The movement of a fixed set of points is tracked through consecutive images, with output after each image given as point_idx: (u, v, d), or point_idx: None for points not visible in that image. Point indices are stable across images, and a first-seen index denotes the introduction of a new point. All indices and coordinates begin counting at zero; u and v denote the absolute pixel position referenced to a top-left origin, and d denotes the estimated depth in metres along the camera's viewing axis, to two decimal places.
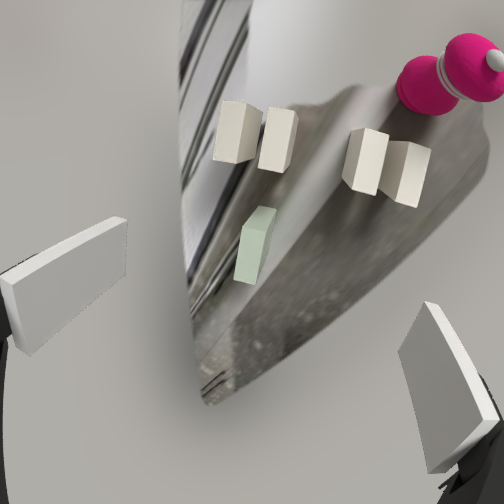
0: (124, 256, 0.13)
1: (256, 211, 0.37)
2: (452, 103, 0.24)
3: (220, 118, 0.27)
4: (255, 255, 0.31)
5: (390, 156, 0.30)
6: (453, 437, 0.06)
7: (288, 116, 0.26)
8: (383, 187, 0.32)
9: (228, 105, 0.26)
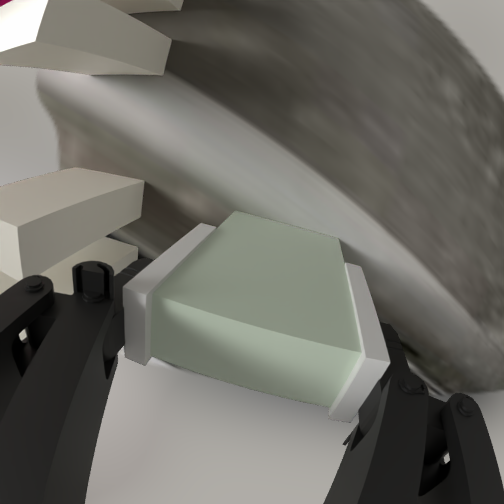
0: None
1: None
2: None
3: None
4: (240, 339, 0.08)
5: None
6: None
7: None
8: None
9: None
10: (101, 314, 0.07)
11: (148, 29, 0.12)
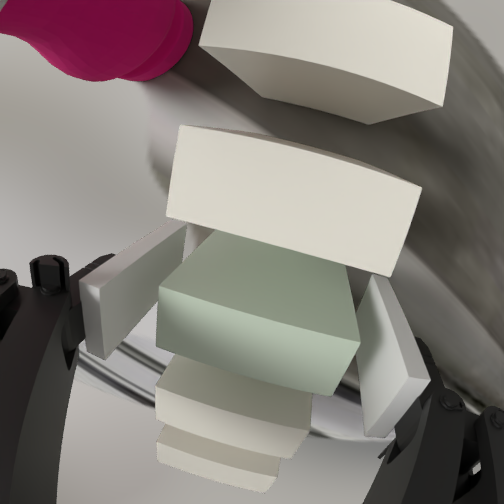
0: (181, 258, 0.14)
1: None
2: None
3: (189, 472, 0.13)
4: (244, 329, 0.09)
5: (290, 92, 0.11)
6: (385, 397, 0.07)
7: (169, 399, 0.10)
8: (376, 115, 0.11)
9: (165, 459, 0.13)
10: (58, 305, 0.06)
11: None
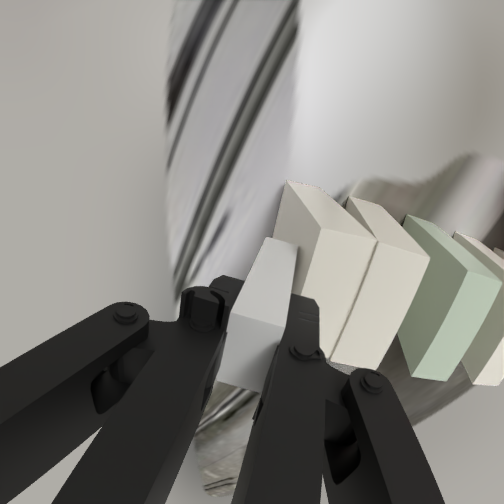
0: None
1: (424, 227, 0.17)
2: None
3: (311, 273, 0.12)
4: (470, 329, 0.11)
5: None
6: None
7: (415, 269, 0.11)
8: None
9: (335, 243, 0.11)
10: (210, 346, 0.07)
11: None
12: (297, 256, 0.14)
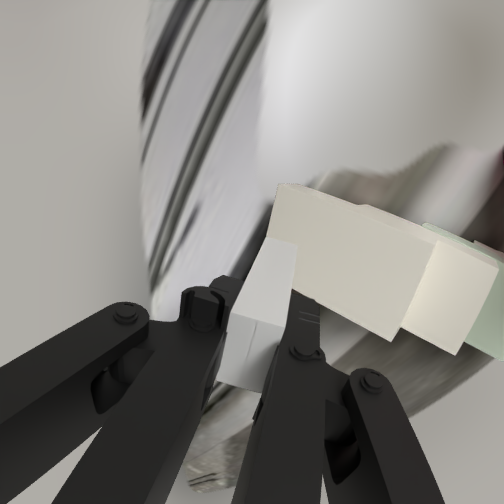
0: None
1: (463, 243, 0.16)
2: None
3: (421, 277, 0.14)
4: None
5: None
6: None
7: None
8: None
9: (432, 251, 0.14)
10: (210, 346, 0.07)
11: None
12: (385, 266, 0.15)
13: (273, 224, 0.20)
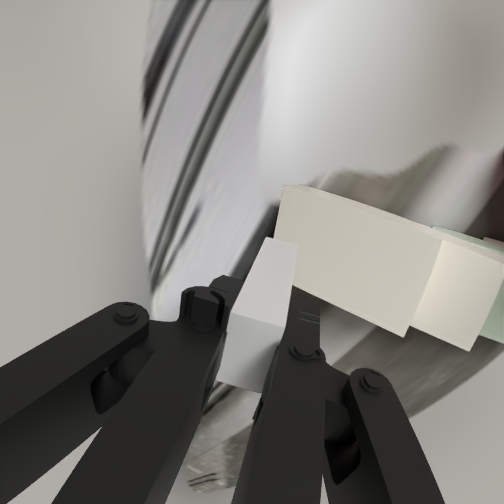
0: None
1: (472, 242, 0.16)
2: None
3: None
4: None
5: None
6: None
7: None
8: None
9: None
10: (210, 346, 0.07)
11: None
12: (395, 263, 0.15)
13: (280, 226, 0.19)
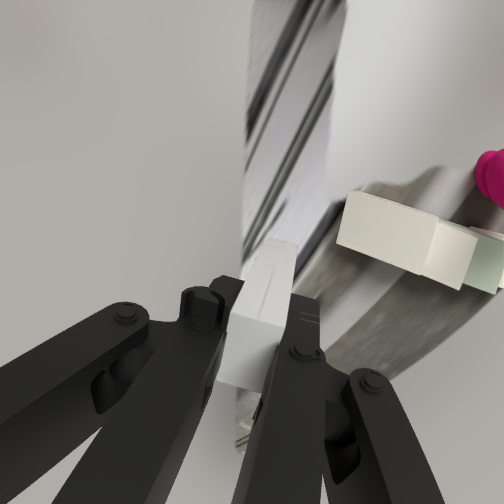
0: None
1: (460, 227, 0.28)
2: None
3: None
4: None
5: None
6: None
7: None
8: None
9: None
10: (210, 346, 0.07)
11: None
12: (413, 232, 0.27)
13: (346, 214, 0.31)
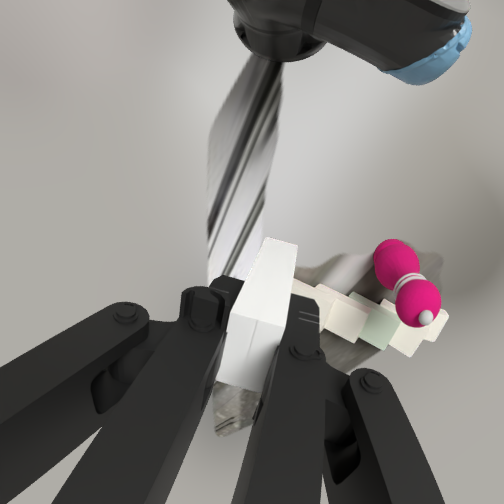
0: None
1: (365, 303, 0.48)
2: None
3: (327, 313, 0.46)
4: None
5: None
6: None
7: (369, 312, 0.47)
8: None
9: (331, 304, 0.46)
10: (210, 346, 0.07)
11: None
12: None
13: None
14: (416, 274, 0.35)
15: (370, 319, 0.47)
